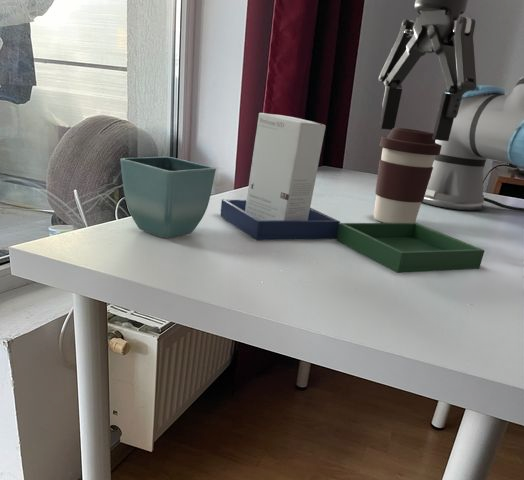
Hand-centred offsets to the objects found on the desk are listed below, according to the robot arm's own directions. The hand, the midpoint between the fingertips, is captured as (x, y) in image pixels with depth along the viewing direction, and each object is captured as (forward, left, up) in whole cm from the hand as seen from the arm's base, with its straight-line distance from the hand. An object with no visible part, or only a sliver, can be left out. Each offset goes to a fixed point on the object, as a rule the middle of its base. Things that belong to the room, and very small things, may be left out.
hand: (411, 134), depth 91 cm
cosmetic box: (+25, +3, -14) cm, 29 cm away
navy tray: (+25, +3, -14) cm, 29 cm away
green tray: (+12, +18, -14) cm, 26 cm away
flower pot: (+43, +6, -15) cm, 46 cm away
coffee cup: (0, 0, -15) cm, 15 cm away
